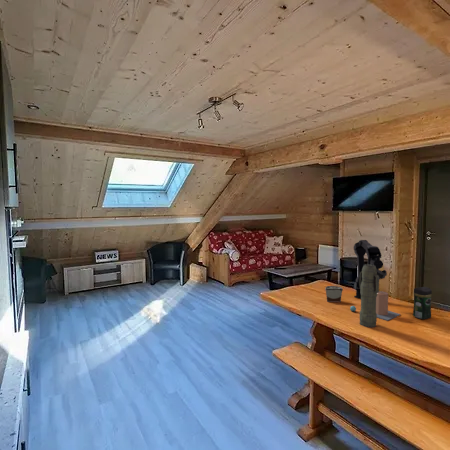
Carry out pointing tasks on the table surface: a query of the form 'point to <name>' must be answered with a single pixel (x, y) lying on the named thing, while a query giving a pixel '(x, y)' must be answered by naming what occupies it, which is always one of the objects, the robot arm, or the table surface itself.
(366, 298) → the thermos
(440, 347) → the table surface
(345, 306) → the table surface
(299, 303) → the table surface
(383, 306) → the brown piece
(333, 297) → the food container
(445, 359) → the table surface
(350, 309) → the ball
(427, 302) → the coffee jar
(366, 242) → the robot arm
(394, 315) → the slate mat
